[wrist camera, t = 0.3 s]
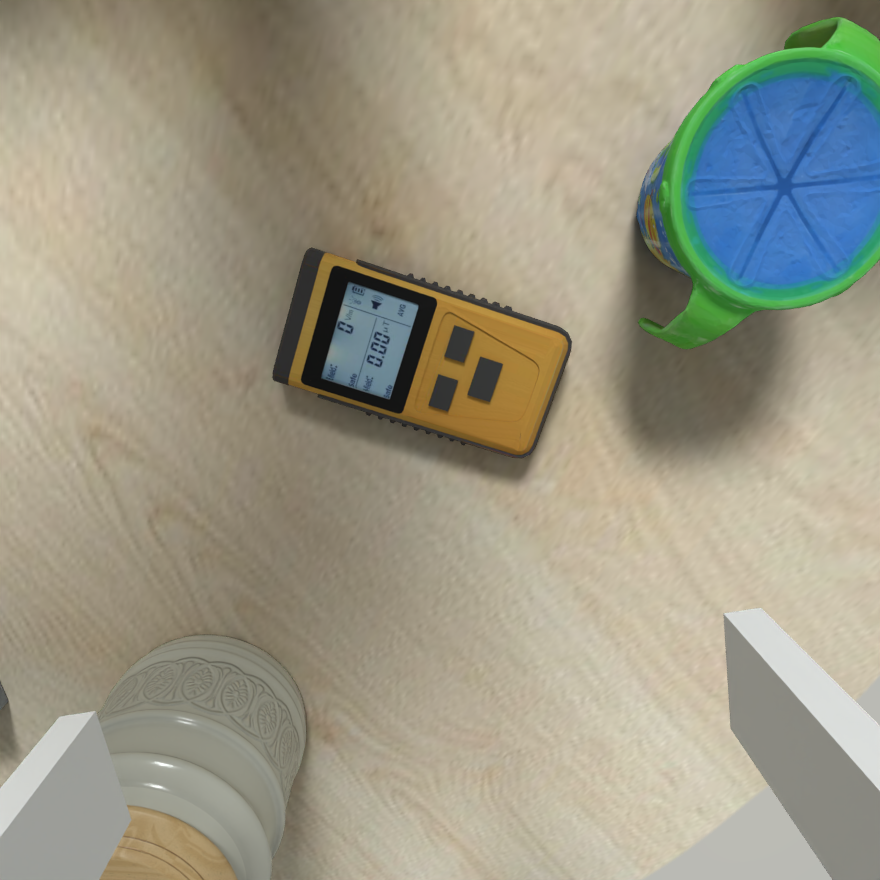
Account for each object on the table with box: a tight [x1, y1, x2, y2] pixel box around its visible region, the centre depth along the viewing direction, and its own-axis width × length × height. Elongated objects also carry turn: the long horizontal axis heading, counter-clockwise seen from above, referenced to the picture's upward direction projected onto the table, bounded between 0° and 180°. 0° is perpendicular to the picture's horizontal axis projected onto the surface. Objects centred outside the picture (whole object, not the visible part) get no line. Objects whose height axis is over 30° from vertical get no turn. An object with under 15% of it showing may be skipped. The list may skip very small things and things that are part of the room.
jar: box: [97, 635, 306, 880], centre depth 37 cm, size 13×13×18 cm
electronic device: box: [273, 248, 572, 458], centre depth 38 cm, size 8×16×3 cm, turn 72°
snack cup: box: [637, 17, 880, 349], centre depth 33 cm, size 16×11×10 cm
